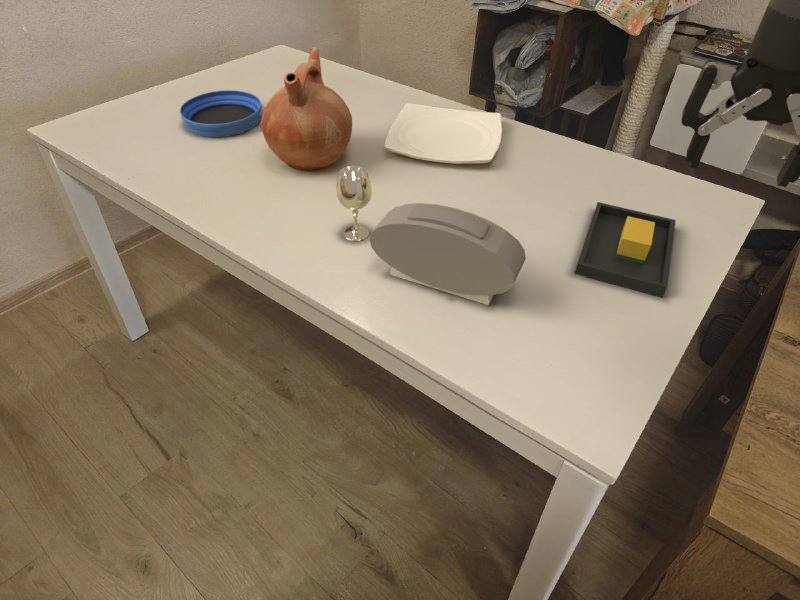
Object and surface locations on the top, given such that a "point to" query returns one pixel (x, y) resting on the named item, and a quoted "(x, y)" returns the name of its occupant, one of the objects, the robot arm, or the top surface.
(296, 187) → the top surface
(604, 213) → the tray
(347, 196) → the wineglass
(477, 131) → the plate
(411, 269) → the alarm clock
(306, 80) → the jug
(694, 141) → the robot arm
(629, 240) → the sponge
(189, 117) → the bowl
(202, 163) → the top surface
